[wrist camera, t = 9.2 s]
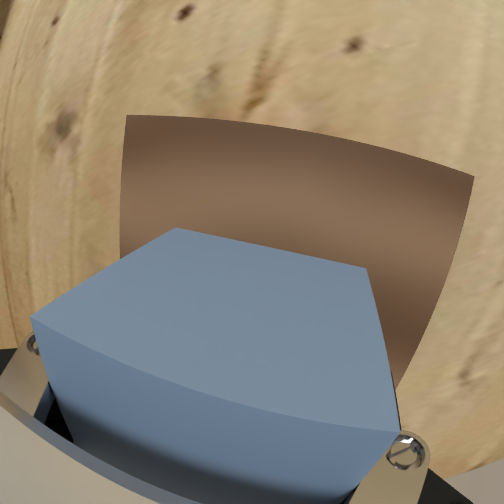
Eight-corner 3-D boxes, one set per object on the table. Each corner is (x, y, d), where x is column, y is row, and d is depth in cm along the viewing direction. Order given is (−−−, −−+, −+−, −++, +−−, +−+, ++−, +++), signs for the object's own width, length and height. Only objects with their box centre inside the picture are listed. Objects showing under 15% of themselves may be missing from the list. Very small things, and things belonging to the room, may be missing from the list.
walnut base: (172, 119, 14) (126, 115, 11) (438, 167, 12) (474, 176, 8) (161, 337, 19) (129, 374, 15) (364, 387, 17) (366, 437, 13)
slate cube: (175, 227, 10) (30, 316, 4) (366, 268, 9) (400, 432, 3) (171, 368, 12) (93, 477, 6) (316, 407, 11) (293, 546, 5)
